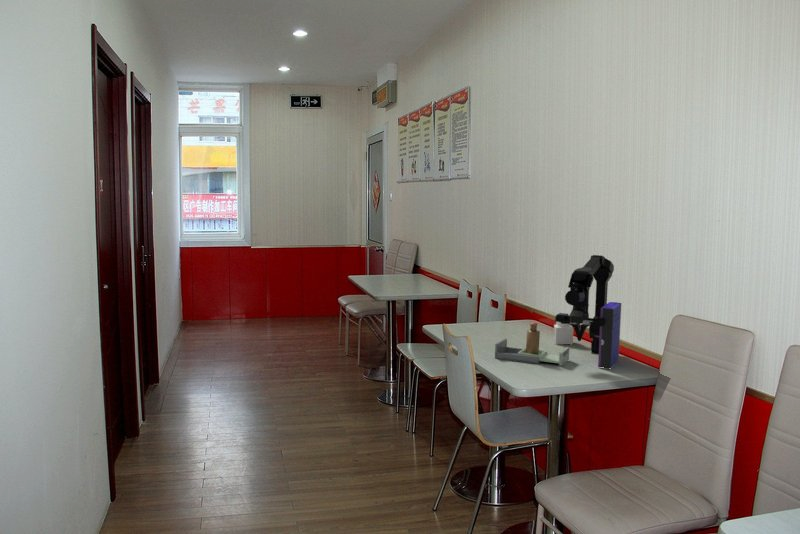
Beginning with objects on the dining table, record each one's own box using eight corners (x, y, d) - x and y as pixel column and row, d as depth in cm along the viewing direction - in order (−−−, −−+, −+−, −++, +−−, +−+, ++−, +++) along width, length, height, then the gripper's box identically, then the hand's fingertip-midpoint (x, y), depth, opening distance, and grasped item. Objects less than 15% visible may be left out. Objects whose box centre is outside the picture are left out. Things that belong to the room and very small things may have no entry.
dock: (546, 357, 284) (547, 343, 284) (538, 363, 274) (538, 349, 273) (504, 352, 293) (505, 338, 292) (494, 358, 282) (495, 343, 281)
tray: (569, 359, 280) (570, 347, 279) (562, 365, 269) (562, 353, 269) (525, 354, 288) (525, 342, 288) (516, 359, 278) (517, 347, 278)
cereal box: (606, 358, 284) (609, 301, 282) (618, 360, 282) (621, 302, 280) (598, 367, 269) (600, 307, 266) (610, 369, 267) (613, 308, 264)
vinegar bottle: (537, 353, 283) (539, 322, 282) (539, 356, 278) (541, 324, 277) (524, 353, 284) (526, 321, 282) (526, 356, 278) (528, 324, 277)
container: (570, 341, 317) (571, 313, 315) (572, 345, 309) (574, 316, 307) (553, 340, 317) (554, 313, 316) (555, 344, 310) (556, 316, 308)
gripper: (552, 302, 267) (550, 342, 268) (600, 307, 258) (599, 347, 260) (559, 299, 277) (558, 336, 278) (606, 303, 268) (605, 342, 270)
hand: (579, 340), depth 271 cm, fingers closed
